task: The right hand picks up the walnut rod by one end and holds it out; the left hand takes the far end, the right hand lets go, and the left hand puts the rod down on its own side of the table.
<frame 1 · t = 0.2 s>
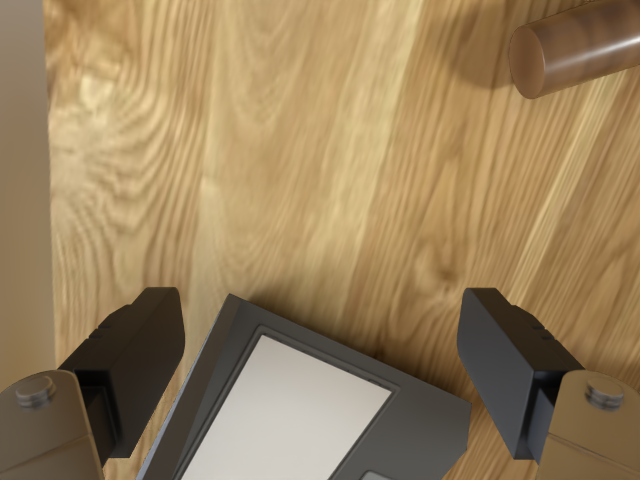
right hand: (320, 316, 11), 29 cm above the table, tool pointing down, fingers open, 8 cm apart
laptop: (284, 465, 52), on the table
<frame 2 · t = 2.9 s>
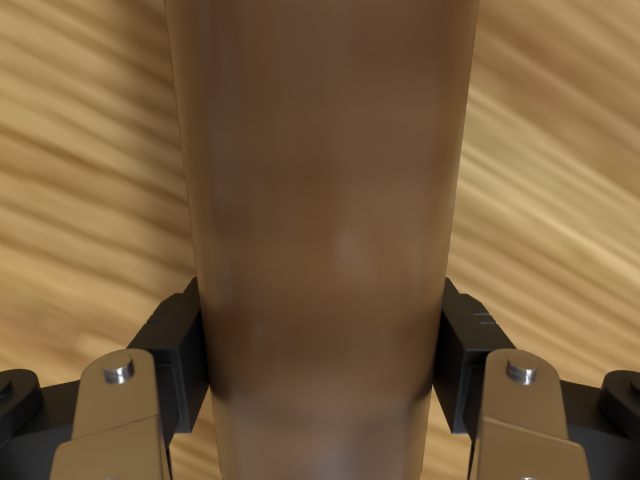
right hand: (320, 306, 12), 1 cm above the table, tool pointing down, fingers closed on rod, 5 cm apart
rod: (321, 14, 10), on the table, touching right hand
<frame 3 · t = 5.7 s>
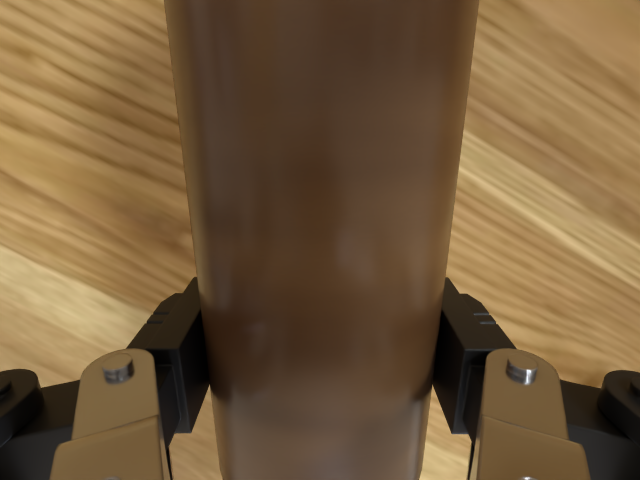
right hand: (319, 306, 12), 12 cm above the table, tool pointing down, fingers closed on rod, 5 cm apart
rod: (320, 14, 10), point 10 cm above the table, touching right hand
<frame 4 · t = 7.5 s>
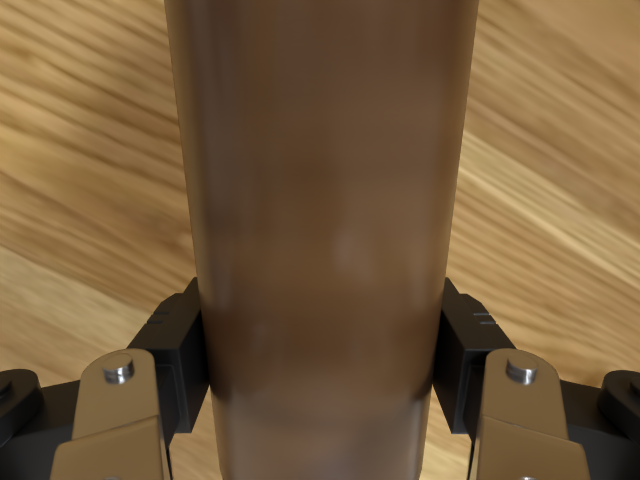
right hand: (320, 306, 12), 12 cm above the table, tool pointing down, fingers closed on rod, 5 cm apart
rod: (321, 14, 10), point 10 cm above the table, touching right hand, left hand
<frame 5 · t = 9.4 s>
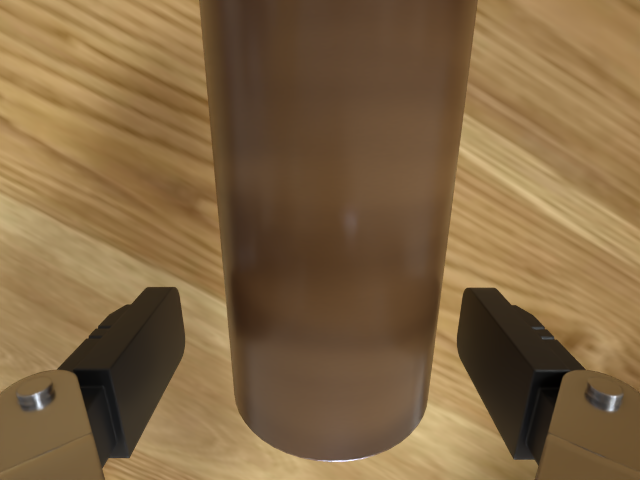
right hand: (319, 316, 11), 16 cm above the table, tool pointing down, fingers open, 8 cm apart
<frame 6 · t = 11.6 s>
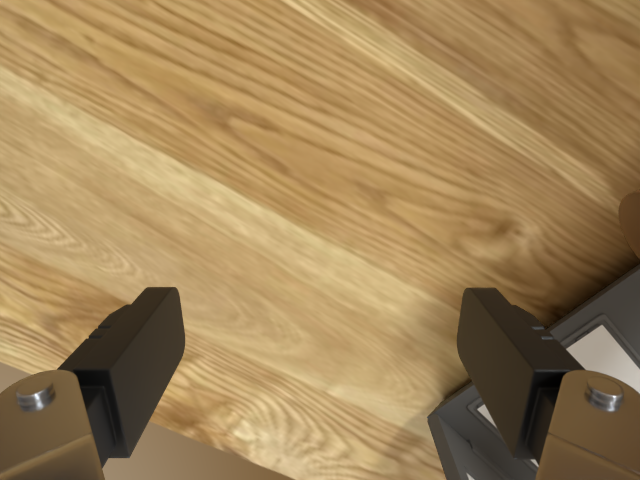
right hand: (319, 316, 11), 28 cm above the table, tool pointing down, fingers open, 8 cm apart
laptop: (633, 425, 49), on the table
when the left hand's fingers open (3 cm above the table, at t = 15.8 s): rod drops 1 cm, on the table.
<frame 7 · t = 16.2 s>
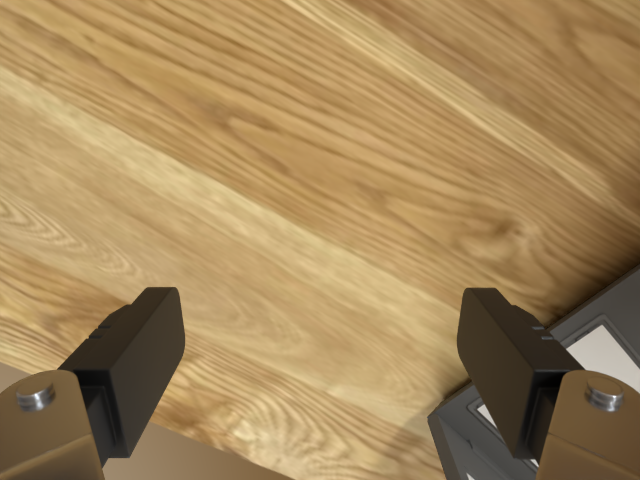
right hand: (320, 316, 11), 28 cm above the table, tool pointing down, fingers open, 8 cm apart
laptop: (633, 425, 49), on the table
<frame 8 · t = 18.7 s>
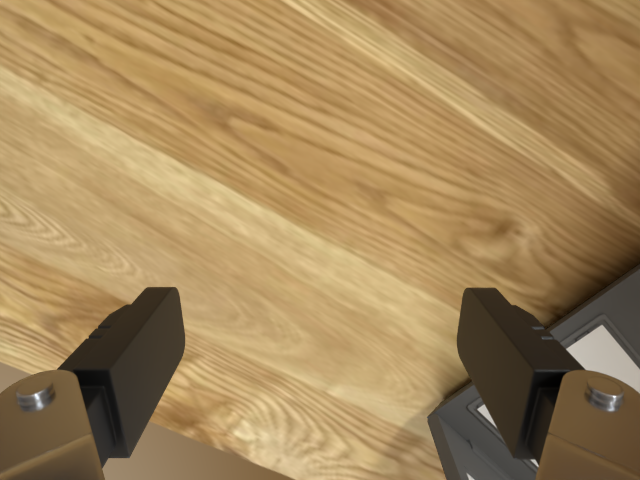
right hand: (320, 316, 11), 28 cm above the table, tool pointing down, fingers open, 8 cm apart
laptop: (633, 425, 49), on the table
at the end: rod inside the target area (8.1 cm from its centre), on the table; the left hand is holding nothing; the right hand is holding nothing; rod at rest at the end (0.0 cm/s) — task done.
